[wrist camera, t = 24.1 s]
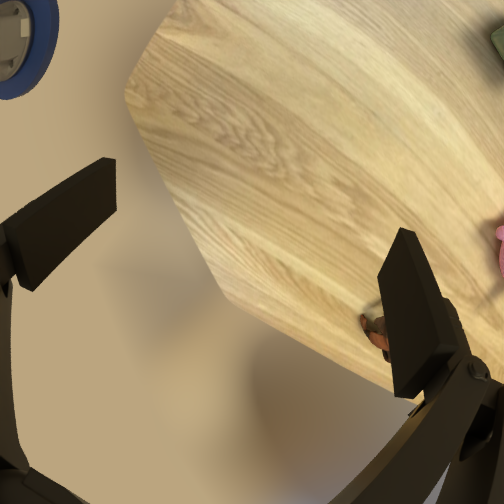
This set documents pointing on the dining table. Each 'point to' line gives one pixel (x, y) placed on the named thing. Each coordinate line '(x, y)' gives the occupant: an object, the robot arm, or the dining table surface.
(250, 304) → the dining table surface
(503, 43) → the flower pot
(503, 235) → the teapot
